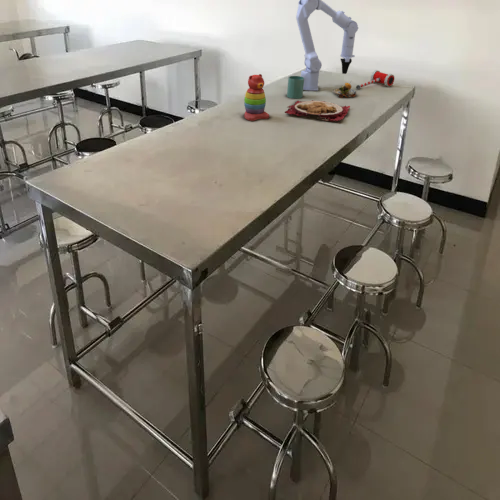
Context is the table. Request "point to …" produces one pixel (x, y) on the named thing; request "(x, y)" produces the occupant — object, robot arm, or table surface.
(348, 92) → the burger
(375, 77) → the toy hammer
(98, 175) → the table surface
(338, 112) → the plate with food
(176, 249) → the table surface
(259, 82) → the stacking bear
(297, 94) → the green cup
